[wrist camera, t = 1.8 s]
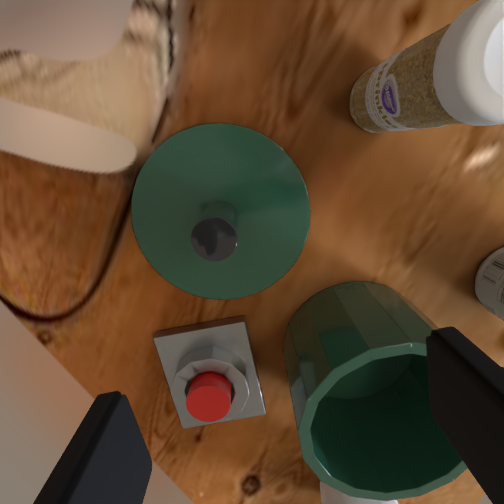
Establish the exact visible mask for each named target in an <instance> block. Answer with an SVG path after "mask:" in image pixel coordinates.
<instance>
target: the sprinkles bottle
mask: <svg viewBox="0 0 504 504" xmlns="http://www.w3.org/2000/svg"><path fill="white" fill-rule="evenodd" d="M349 104H350V114H351V116H352V118H353V120H354V121H355V123H356V124H357V125H358V126H359V127H360V128H362V129H363V130H365V131H367V132H371V133H384V132H387V131H402V130H413V129H425V128H435V127H443V126H447V125H451V124H459V123H465V124H470V125H475V126H486V125H497V124H504V0H479V1H478V2H476V3H474V4H473V5H471V6H470V7H468V8H467V9H466V10H464V11H463V12H462V13H461V14H460V15H459V16H458V17H457V18H456V19H455V20H454V21H453V22H452V23H451V24H449V25H447V26H445V27H443V28H442V29H440V30H438V31H436V32H435V33H432V34H431V35H429V36H427V37H425V38H424V39H422V40H420V41H419V42H417V43H415V44H414V45H412V46H410V47H408V48H405V49H403V50H402V51H400V52H398V53H397V54H395V55H393V56H391V57H390V58H388V59H387V60H385V61H383V62H382V63H381V64H380V65H379V66H375V67H372V68H370V69H368V70H367V71H366V72H364V73H363V74H362V75H361V76H360V77H359V79H358V80H357V81H356V82H355V84H354V86H353V88H352V91H351V94H350V102H349Z"/></svg>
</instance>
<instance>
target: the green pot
mask: <svg viewBox="0 0 504 504" xmlns="http://www.w3.org/2000/svg"><path fill="white" fill-rule="evenodd" d="M436 329H440V328H438V327H437V326H436V325H435V324H434V323H433V322H432V321H431V320H430V319H429V318H428V317H427V316H426V315H425V314H424V313H423V312H422V311H420V310H419V309H418V308H417V307H416V306H415V305H414V304H413V303H412V302H411V301H409V300H408V299H406V298H405V297H404V296H402V295H401V294H400V293H398V292H397V291H395V290H393V289H392V288H389V287H387V286H384V285H381V284H377V283H373V282H365V281H357V282H347V283H342V284H338V285H334V286H332V287H329V288H326V289H324V290H322V291H321V292H319V293H317V294H315V295H314V296H313V297H311V298H310V299H309V300H307V301H306V302H305V303H304V304H303V305H302V306H301V307H300V308H299V309H298V310H297V312H296V313H295V315H294V316H293V318H292V319H291V321H290V323H289V325H288V328H287V331H286V333H285V338H284V347H283V353H284V359H285V364H286V370H287V375H288V381H289V386H290V392H291V398H292V403H293V409H294V414H295V420H296V425H297V431H298V436H299V441H300V446H301V451H302V456H303V459H304V461H305V462H306V463H307V464H308V466H309V467H310V468H311V469H312V470H313V472H314V473H315V474H316V475H317V477H318V478H319V479H320V480H321V482H323V483H324V484H326V485H328V486H330V487H332V488H334V489H336V490H338V491H340V492H342V493H344V494H346V495H348V496H350V497H357V498H364V499H372V500H379V501H391V500H397V499H404V498H410V497H416V496H420V495H423V494H426V493H428V492H430V491H432V490H434V489H437V488H439V487H441V486H443V485H445V484H447V483H450V482H452V481H453V480H455V479H456V478H457V477H458V476H459V475H460V474H462V473H463V472H464V471H465V470H466V469H467V468H468V467H467V466H466V464H465V463H464V462H463V460H462V459H461V457H460V456H459V454H458V453H457V451H456V450H455V449H454V447H453V446H452V444H451V443H450V441H449V440H448V439H447V437H446V436H445V434H444V433H443V431H442V430H441V428H440V427H439V426H438V424H437V423H436V421H435V420H434V418H433V416H432V413H431V409H430V398H429V382H428V366H427V350H426V337H427V336H431V331H432V330H436Z"/></svg>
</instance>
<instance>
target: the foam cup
mask: <svg viewBox="0 0 504 504" xmlns="http://www.w3.org/2000/svg"><path fill="white" fill-rule="evenodd" d="M320 493H321V504H399V503H398V502H397V500H391V501H379V500H372V499H364V498H357V497H350V496H348V495H346V494H344V493H342V492H340V491H338V490H336V489H334V488H332V487H330V486H328V485H326V484H324V483H323V482H321V480H320Z"/></svg>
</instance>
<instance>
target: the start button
mask: <svg viewBox="0 0 504 504" xmlns="http://www.w3.org/2000/svg"><path fill="white" fill-rule="evenodd" d="M230 406H231V385H230V383H229V381H228V380H227V379H226V378H225V377H224V376H222V375H221V374H218V373H215V372H205V373H202V374H199V375H197V376H196V377H195V378H194V379H193V380H192V381H191V383H190V386H189V390H188V395H187V399H186V407H187V410H188V412H189V413H190V415H191V416H193V417H194V418H195V419H197V420H200V421H203V422H214V421H218V420H220V419H222V418H223V417H225V416H226V415H227V413H228V412H229V410H230Z"/></svg>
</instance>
